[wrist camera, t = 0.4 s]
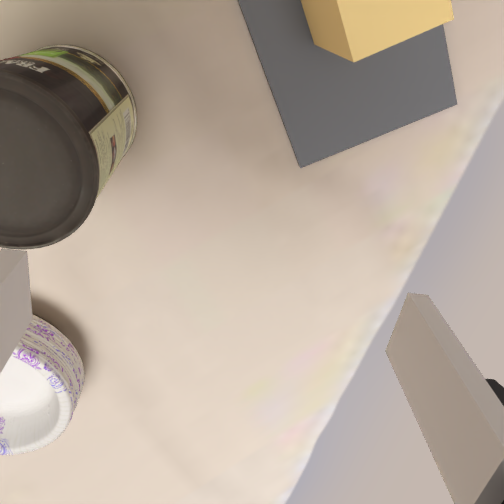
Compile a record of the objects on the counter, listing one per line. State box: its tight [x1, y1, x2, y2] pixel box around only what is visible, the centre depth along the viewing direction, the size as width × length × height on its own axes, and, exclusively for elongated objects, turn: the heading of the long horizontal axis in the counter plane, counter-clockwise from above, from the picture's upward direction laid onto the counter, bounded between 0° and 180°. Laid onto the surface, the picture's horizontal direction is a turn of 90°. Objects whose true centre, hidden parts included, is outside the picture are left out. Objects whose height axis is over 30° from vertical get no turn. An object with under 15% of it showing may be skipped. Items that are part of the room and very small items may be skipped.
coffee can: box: [0, 45, 137, 249], centre depth 31 cm, size 10×10×14 cm
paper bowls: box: [0, 315, 84, 455], centre depth 45 cm, size 15×15×8 cm
